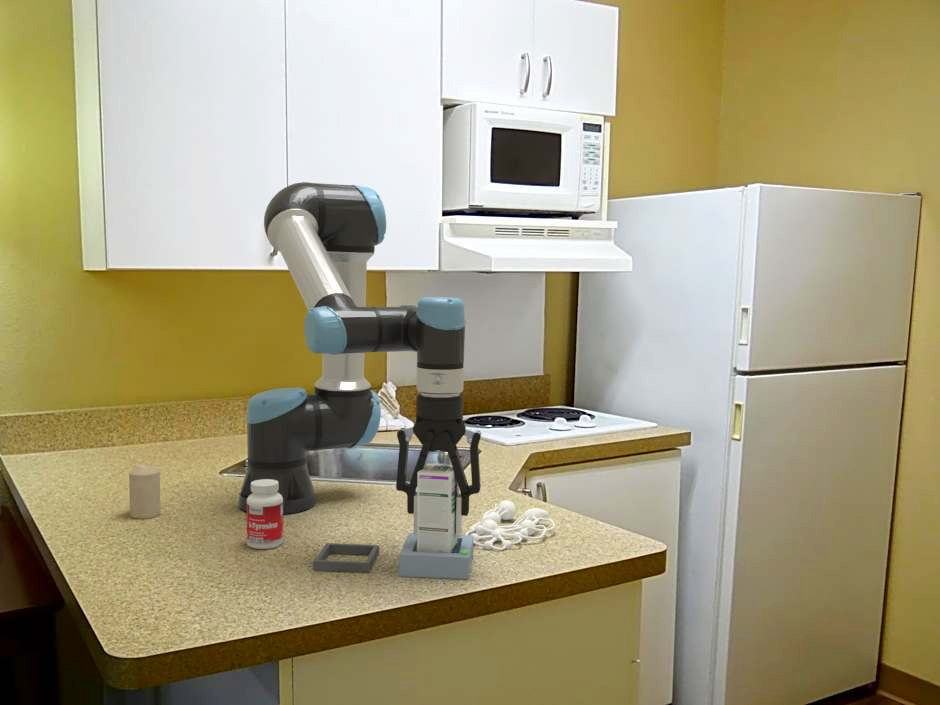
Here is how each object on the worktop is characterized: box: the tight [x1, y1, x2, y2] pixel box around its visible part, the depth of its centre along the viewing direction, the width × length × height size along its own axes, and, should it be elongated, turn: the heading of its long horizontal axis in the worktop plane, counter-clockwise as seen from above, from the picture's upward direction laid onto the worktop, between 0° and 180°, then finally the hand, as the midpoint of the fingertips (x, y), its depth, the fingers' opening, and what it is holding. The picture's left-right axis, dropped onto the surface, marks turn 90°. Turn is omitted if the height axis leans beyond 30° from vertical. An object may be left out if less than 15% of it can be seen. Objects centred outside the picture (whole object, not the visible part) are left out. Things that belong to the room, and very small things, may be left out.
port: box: [398, 532, 474, 580], centre depth 137 cm, size 11×11×4 cm
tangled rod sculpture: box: [464, 499, 556, 552], centre depth 154 cm, size 19×14×4 cm
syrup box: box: [416, 463, 460, 553], centre depth 137 cm, size 6×6×14 cm
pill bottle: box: [246, 479, 284, 550], centre depth 146 cm, size 6×6×11 cm
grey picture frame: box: [312, 542, 380, 574], centre depth 139 cm, size 9×9×2 cm
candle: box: [128, 462, 161, 520], centre depth 162 cm, size 6×6×10 cm
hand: (437, 533), depth 137 cm, fingers closed on syrup box, 6 cm apart
